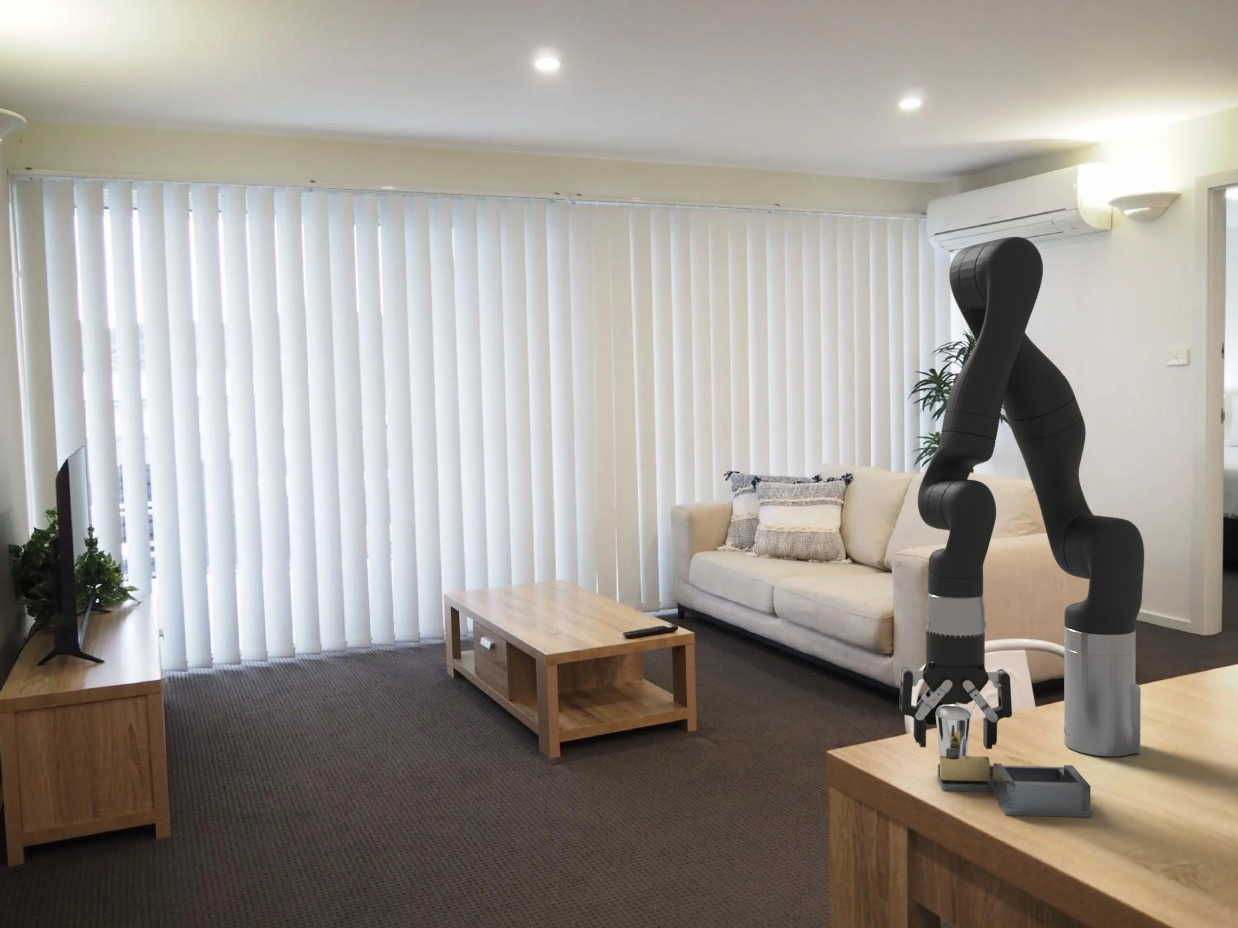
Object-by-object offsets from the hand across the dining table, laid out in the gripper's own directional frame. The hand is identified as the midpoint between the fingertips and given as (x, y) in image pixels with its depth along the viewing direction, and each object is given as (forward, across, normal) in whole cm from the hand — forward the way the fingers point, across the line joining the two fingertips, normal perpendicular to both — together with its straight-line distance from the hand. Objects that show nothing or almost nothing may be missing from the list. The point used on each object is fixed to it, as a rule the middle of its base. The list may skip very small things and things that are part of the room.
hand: (954, 746), depth 140 cm
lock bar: (+2, 0, +5) cm, 6 cm away
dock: (+4, -5, +9) cm, 11 cm away
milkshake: (+4, 0, 0) cm, 4 cm away
